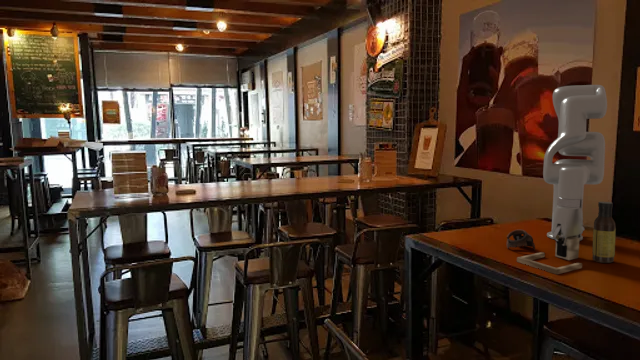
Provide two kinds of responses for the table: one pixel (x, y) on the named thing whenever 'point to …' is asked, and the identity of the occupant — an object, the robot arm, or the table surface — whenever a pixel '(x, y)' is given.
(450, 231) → the table surface
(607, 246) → the sauce bottle
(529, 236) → the broken clay pot rim
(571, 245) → the birch block
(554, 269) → the oak bay
